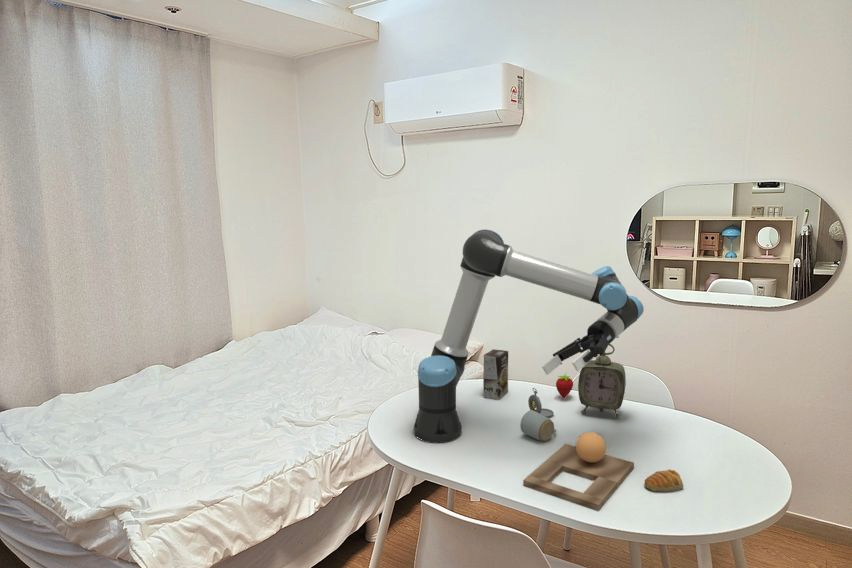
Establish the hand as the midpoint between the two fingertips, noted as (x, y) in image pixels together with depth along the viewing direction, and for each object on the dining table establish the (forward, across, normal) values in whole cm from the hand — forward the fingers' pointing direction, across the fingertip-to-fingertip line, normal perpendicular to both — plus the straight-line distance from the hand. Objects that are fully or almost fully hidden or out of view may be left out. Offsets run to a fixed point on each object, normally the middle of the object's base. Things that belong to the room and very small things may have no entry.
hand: (559, 368), depth 163 cm
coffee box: (-7, +54, -11) cm, 55 cm away
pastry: (+2, -16, -36) cm, 40 cm away
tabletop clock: (-22, +24, -30) cm, 44 cm away
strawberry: (-23, +40, -24) cm, 52 cm away
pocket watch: (-6, +32, -19) cm, 38 cm away
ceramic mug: (+5, +20, -20) cm, 29 cm away
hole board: (+14, -3, -25) cm, 29 cm away
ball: (+6, -2, -22) cm, 23 cm away
